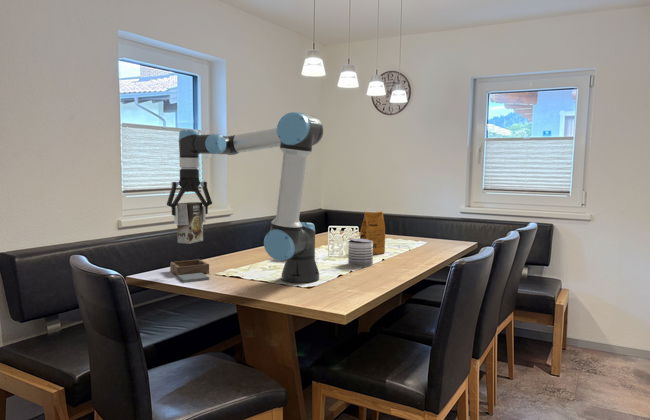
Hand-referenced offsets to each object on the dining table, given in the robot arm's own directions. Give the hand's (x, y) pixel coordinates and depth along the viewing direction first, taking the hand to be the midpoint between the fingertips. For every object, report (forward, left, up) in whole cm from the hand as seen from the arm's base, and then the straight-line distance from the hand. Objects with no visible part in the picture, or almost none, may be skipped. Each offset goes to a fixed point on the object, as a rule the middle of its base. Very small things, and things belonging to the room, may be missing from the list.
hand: (190, 222), depth 198 cm
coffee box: (0, 0, -8) cm, 8 cm away
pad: (-4, 0, -22) cm, 23 cm away
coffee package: (+7, -98, -22) cm, 100 cm away
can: (-15, -75, -22) cm, 79 cm away
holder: (+8, -2, -22) cm, 24 cm away
